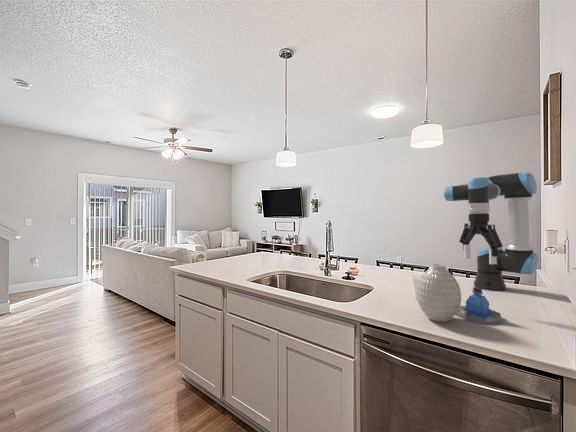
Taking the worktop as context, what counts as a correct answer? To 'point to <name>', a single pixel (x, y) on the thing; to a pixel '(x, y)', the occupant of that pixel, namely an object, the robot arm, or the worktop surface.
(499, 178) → the robot arm
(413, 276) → the cup
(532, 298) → the worktop surface
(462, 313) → the ring
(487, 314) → the perfume bottle
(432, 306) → the vase
